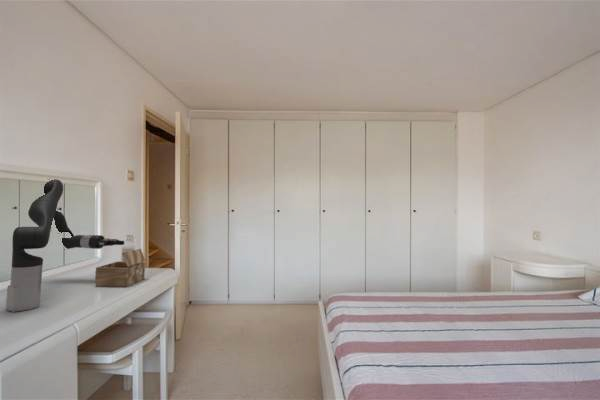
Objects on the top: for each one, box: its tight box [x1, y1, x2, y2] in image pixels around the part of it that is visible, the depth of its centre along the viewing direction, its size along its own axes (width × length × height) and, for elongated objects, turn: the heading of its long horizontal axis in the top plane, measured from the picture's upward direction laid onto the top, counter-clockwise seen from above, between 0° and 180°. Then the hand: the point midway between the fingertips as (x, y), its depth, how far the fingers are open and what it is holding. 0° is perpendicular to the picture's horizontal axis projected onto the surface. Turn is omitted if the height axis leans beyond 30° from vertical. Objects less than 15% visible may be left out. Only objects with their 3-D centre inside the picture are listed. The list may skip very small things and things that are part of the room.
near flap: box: [121, 248, 146, 267], centre depth 158 cm, size 17×8×1 cm
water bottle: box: [120, 234, 136, 262], centre depth 177 cm, size 7×7×25 cm
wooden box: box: [94, 261, 146, 288], centre depth 157 cm, size 19×17×10 cm
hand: (123, 242), depth 158 cm, fingers closed
